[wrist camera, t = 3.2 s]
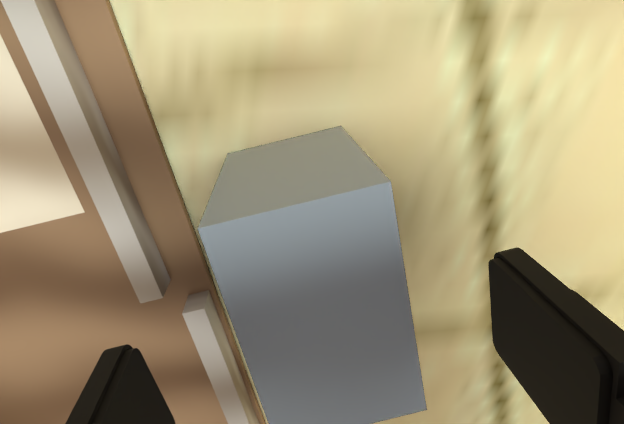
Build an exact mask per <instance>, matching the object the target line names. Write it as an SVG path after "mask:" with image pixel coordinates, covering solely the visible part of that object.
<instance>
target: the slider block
mask: <svg viewBox="0 0 624 424" xmlns="http://www.w3.org/2000/svg"><path fill="white" fill-rule="evenodd" d="M198 231H199V234H200V237H201V240H202V242H203V245H204V248H205V251H206V253H207V256H208V259H209V262H210V264H211V267H212V270H213V272H214V275H215V278H216V281H217V283H218V286H219V289H220V292H221V294H222V297H223V300H224V303H225V305H226V308H227V311H228V313H229V316H230V319H231V322H232V324H233V327H234V330H235V333H236V335H237V338H238V341H239V344H240V346H241V349H242V352H243V355H244V357H245V360H246V363H247V365H248V368H249V371H250V374H251V376H252V379H253V382H254V385H255V387H256V390H257V393H258V396H259V398H260V401H261V404H262V407H263V409H264V412H265V415H266V417H267V420H268V423H269V424H371V423H375V422H380V421H384V420H388V419H392V418H396V417H400V416H404V415H408V414H412V413H416V412H420V411H424V410H427V408H426V402H425V395H424V389H423V383H422V376H421V370H420V364H419V357H418V351H417V345H416V338H415V332H414V325H413V319H412V313H411V306H410V300H409V294H408V287H407V281H406V275H405V268H404V262H403V256H402V249H401V243H400V237H399V230H398V224H397V218H396V211H395V205H394V199H393V192H392V186H391V181H390V180H389V179H388V178H387V177H386V176H385V174H384V173H383V172H382V171H381V170H380V169H379V168H378V167H377V166H376V164H375V163H374V162H373V161H372V160H371V159H370V158H369V157H368V156H367V154H366V153H365V152H364V151H363V150H362V149H361V148H360V147H359V145H358V144H357V143H356V142H355V141H354V140H353V139H352V138H351V137H350V135H349V134H348V133H347V132H346V131H345V130H344V129H343V128H342V127H341V126H339V127H335V128H331V129H327V130H322V131H318V132H314V133H310V134H306V135H302V136H298V137H294V138H290V139H285V140H281V141H277V142H273V143H269V144H265V145H261V146H257V147H253V148H249V149H244V150H240V151H236V152H232V153H228V154H227V157H226V159H225V162H224V164H223V167H222V169H221V172H220V174H219V177H218V179H217V181H216V184H215V186H214V189H213V191H212V194H211V196H210V199H209V201H208V204H207V206H206V209H205V211H204V214H203V216H202V219H201V221H200V224H199V226H198Z"/></svg>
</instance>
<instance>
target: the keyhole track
mask: <svg viewBox="0 0 624 424" xmlns="http://www.w3.org/2000/svg"><path fill="white" fill-rule="evenodd" d="M126 344H128V345H130V346H132V348H138V349H139V350H140V352H141V354H142V356H143V358H144V360H145V362H146V364H147V366H148V368H149V370H150V372H151V374H152V376H153V378H154V380H155V382H156V384H157V386H158V388H159V390H160V392H161V394H162V395H163V397H164V399H165V401H166V403H167V405H168V407H169V409H170V411H171V413H172V415H173V417H174V420H175V424H266V423H265V421H264V418H263V415H262V413H261V410H260V407H259V405H258V402H257V399H256V396H255V394H254V391H253V388H252V386H251V383H250V380H249V378H248V375H247V372H246V369H245V367H244V364H243V361H242V359H241V356H240V353H239V351H238V348H237V345H236V342H235V340H234V337H233V334H232V332H231V329H230V326H229V324H228V321H227V318H226V315H225V313H224V310H223V307H222V305H221V302H220V299H219V297H218V294H217V291H216V288H215V286H214V283H213V280H212V278H211V275H210V272H209V270H208V267H207V264H206V261H205V259H204V256H203V253H202V251H201V248H200V245H199V243H198V240H197V237H196V234H195V232H194V229H193V226H192V224H191V221H190V218H189V216H188V213H187V210H186V207H185V205H184V202H183V199H182V197H181V194H180V191H179V189H178V186H177V183H176V180H175V178H174V175H173V172H172V170H171V167H170V164H169V162H168V159H167V156H166V153H165V151H164V148H163V145H162V143H161V140H160V137H159V134H158V132H157V129H156V126H155V124H154V121H153V118H152V116H151V113H150V110H149V107H148V105H147V102H146V99H145V97H144V94H143V91H142V89H141V86H140V83H139V80H138V78H137V75H136V72H135V70H134V67H133V64H132V62H131V59H130V56H129V53H128V51H127V48H126V45H125V43H124V40H123V37H122V35H121V32H120V29H119V26H118V24H117V21H116V18H115V16H114V13H113V10H112V8H111V5H110V2H109V0H0V424H65V423H66V421H67V419H68V418H69V416H70V414H71V412H72V410H73V408H74V406H75V404H76V402H77V400H78V398H79V396H80V395H81V393H82V391H83V389H84V387H85V385H86V383H87V381H88V379H89V377H90V375H91V373H92V372H93V370H94V368H95V366H96V364H97V362H98V360H99V358H100V356H101V354H102V353H103V351H104V350H106V349H110V348H114V347H118V346H122V345H126Z"/></svg>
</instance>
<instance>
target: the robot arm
mask: <svg viewBox="0 0 624 424" xmlns="http://www.w3.org/2000/svg"><path fill="white" fill-rule="evenodd" d="M489 282H490V299H491V317H492V335H493V343H494V346H495V349H496V351H497V353H498V354H499V356H500V357H501V358H502V360H503V361H504V362H505V364H506V365H507V366H508V368H509V369H510V370H511V372H512V373H513V374H514V376H515V377H516V379H517V380H518V381H519V383H520V384H521V385H522V387H523V388H524V389H525V391H526V392H527V393H528V395H529V396H530V398H531V399H532V400H533V402H534V403H535V404H536V406H537V407H538V408H539V410H540V411H541V412H542V414H543V415H544V417H545V418H546V419H547V421H548V422H549V423H550V424H624V331H623V330H622V329H621V328H620V327H618V326H617V325H616V324H615V323H613V322H612V321H611V320H610V319H609V318H607V317H606V316H605V315H604V314H602V313H601V312H600V311H599V310H598V309H596V308H595V307H594V306H593V305H591V304H590V303H589V302H588V301H586V300H585V299H584V298H583V297H582V296H580V295H579V294H578V293H576V292H575V291H573V290H570V289H569V288H568V287H567V286H565V285H564V284H563V283H562V282H561V281H559V280H558V279H557V278H556V277H555V276H553V275H552V274H551V273H550V272H548V271H547V270H546V269H545V268H544V267H542V266H541V265H540V264H539V263H538V262H536V261H535V260H534V259H533V258H531V257H530V256H529V255H528V254H527V253H525V252H524V251H523V250H522V249H520V248H513V249H509V250H505V251H501V252H497V253H496V254H495V255H494V259H492V260H490V261H489ZM65 424H175V420H174V417H173V415H172V413H171V411H170V409H169V407H168V405H167V403H166V401H165V399H164V397H163V395H162V394H161V392H160V390H159V388H158V386H157V384H156V382H155V380H154V378H153V376H152V374H151V372H150V370H149V368H148V366H147V364H146V362H145V360H144V358H143V356H142V354H141V352H140V350H139V349H138V348H132V346H130V345H128V344H126V345H122V346H118V347H114V348H110V349H106V350H104V351H103V353H102V354H101V356H100V358H99V360H98V362H97V364H96V366H95V368H94V370H93V372H92V373H91V375H90V377H89V379H88V381H87V383H86V385H85V387H84V389H83V391H82V393H81V395H80V396H79V398H78V400H77V402H76V404H75V406H74V408H73V410H72V412H71V414H70V416H69V418H68V419H67V421H66V423H65Z"/></svg>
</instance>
